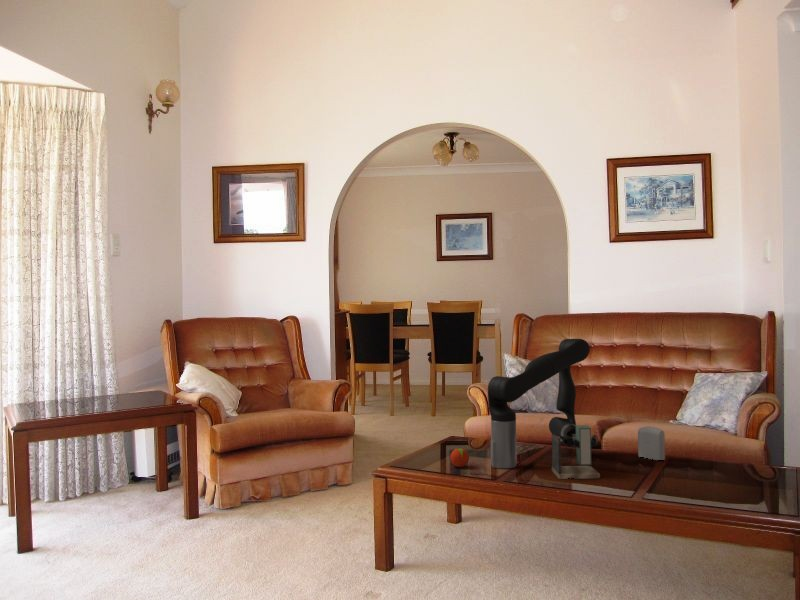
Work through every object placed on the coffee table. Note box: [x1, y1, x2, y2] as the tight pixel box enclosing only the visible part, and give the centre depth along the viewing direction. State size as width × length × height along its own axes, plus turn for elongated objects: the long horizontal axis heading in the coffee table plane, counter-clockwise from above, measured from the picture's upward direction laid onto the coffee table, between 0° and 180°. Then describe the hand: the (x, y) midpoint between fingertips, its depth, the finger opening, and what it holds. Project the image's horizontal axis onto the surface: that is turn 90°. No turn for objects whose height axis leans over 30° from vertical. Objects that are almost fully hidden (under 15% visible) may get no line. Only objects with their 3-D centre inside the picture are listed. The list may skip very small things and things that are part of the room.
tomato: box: [450, 447, 470, 468], centre depth 258 cm, size 8×7×7 cm
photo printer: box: [637, 425, 666, 461], centre depth 267 cm, size 10×4×12 cm, turn 39°
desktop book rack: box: [551, 433, 601, 480], centre depth 245 cm, size 14×12×14 cm
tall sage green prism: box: [575, 424, 592, 466], centre depth 245 cm, size 4×5×13 cm
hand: (585, 444), depth 243 cm, fingers closed on tall sage green prism, 4 cm apart
